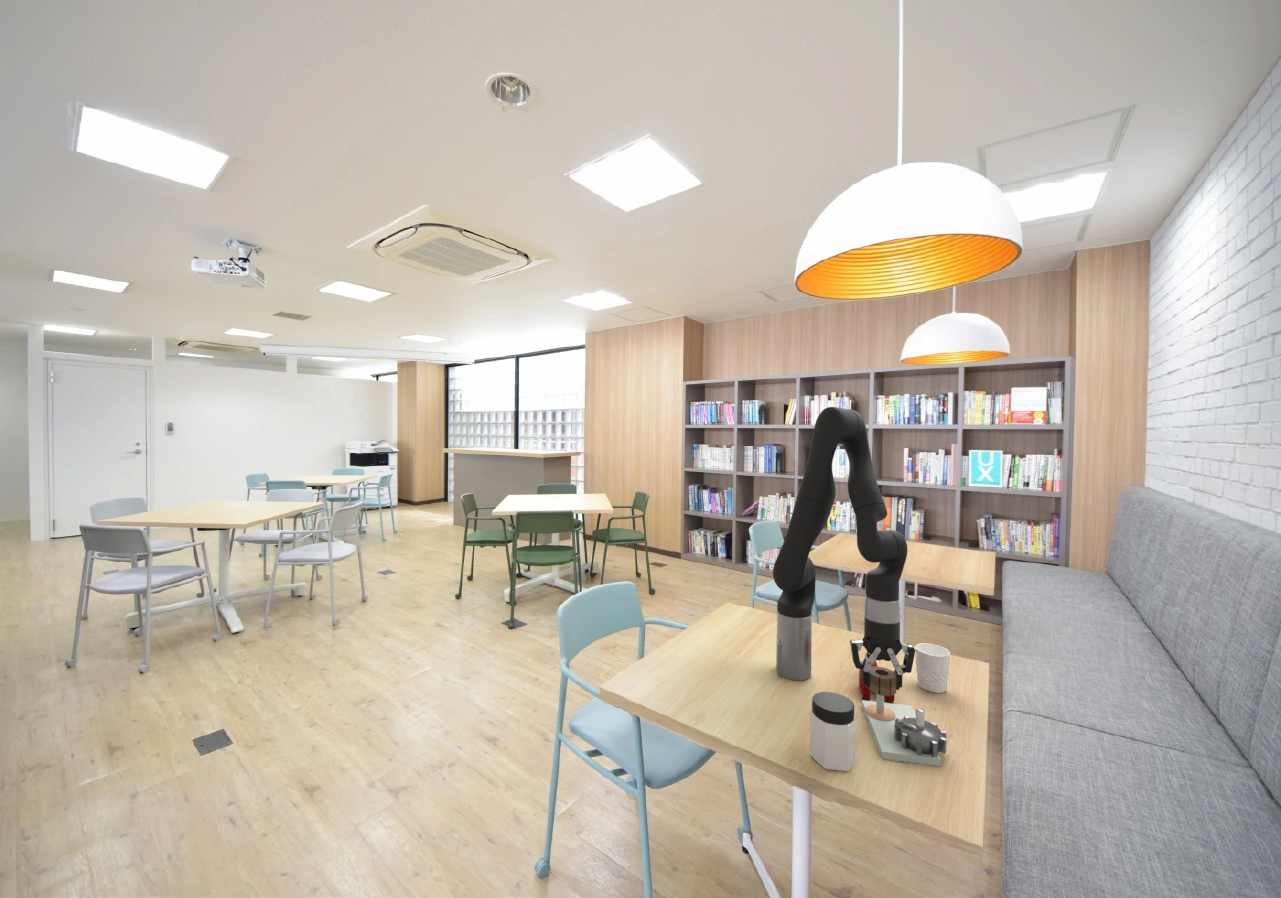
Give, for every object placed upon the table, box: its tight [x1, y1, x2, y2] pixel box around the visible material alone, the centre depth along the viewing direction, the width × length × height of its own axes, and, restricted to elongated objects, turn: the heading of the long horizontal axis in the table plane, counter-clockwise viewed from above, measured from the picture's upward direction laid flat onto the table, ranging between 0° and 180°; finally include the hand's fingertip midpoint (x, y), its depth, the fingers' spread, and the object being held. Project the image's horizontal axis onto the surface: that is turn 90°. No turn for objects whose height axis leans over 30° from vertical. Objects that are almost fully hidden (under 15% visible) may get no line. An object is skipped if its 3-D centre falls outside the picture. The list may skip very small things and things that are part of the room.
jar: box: [809, 691, 857, 772], centre depth 103 cm, size 9×8×12 cm
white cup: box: [914, 642, 951, 694], centre depth 132 cm, size 8×8×10 cm
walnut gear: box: [868, 666, 897, 696], centre depth 117 cm, size 6×6×4 cm
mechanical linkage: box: [858, 660, 895, 703], centre depth 132 cm, size 16×7×5 cm, turn 163°
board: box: [861, 694, 942, 767], centre depth 112 cm, size 11×20×8 cm, turn 167°
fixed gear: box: [894, 707, 947, 757], centre depth 106 cm, size 10×10×7 cm
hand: (881, 686), depth 117 cm, fingers closed on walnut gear, 5 cm apart
